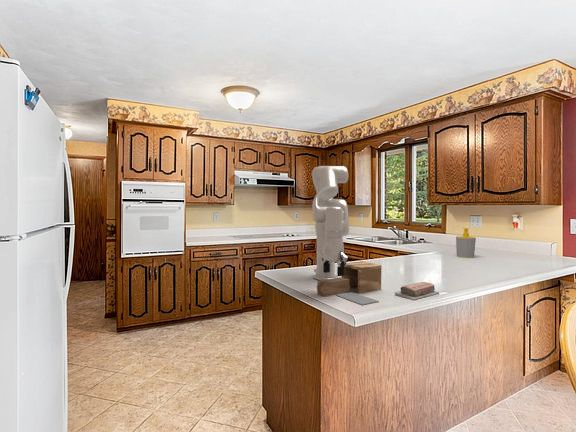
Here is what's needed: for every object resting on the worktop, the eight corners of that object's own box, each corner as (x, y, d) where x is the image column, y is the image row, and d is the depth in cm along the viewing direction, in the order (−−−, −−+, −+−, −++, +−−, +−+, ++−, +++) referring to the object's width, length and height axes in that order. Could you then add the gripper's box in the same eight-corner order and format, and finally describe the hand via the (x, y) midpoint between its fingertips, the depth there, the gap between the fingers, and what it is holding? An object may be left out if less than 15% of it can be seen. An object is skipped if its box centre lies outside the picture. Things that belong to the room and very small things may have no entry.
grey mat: (336, 295, 149) (336, 294, 149) (351, 292, 154) (351, 292, 154) (362, 305, 135) (362, 304, 135) (378, 302, 140) (378, 301, 140)
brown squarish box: (341, 287, 164) (341, 263, 163) (362, 283, 170) (362, 261, 170) (359, 293, 153) (360, 268, 152) (381, 289, 160) (381, 265, 159)
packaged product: (419, 279, 161) (439, 284, 153) (419, 290, 161) (439, 295, 153) (394, 285, 150) (414, 290, 142) (394, 296, 151) (414, 301, 143)
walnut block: (317, 294, 152) (317, 280, 151) (341, 290, 159) (342, 277, 159) (323, 297, 147) (324, 283, 147) (349, 292, 155) (349, 279, 154)
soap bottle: (477, 256, 257) (478, 228, 256) (472, 258, 248) (473, 229, 247) (458, 254, 266) (459, 227, 265) (452, 256, 257) (453, 228, 256)
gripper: (315, 234, 157) (314, 271, 157) (339, 236, 142) (339, 278, 143) (328, 233, 161) (328, 270, 161) (353, 236, 146) (353, 276, 146)
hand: (333, 274), depth 152 cm, fingers open, 9 cm apart
